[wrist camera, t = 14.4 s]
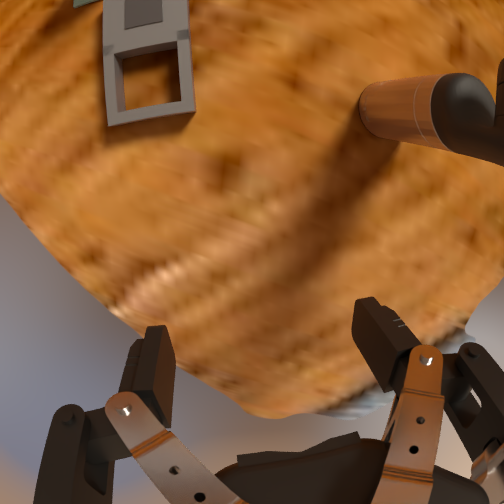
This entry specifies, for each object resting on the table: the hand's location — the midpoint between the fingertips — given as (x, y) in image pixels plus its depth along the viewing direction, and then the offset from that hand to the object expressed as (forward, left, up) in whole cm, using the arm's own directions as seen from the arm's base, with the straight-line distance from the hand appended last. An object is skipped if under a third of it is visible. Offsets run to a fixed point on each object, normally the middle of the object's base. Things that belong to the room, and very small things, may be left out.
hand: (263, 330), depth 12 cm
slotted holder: (+9, -21, -33) cm, 40 cm away
